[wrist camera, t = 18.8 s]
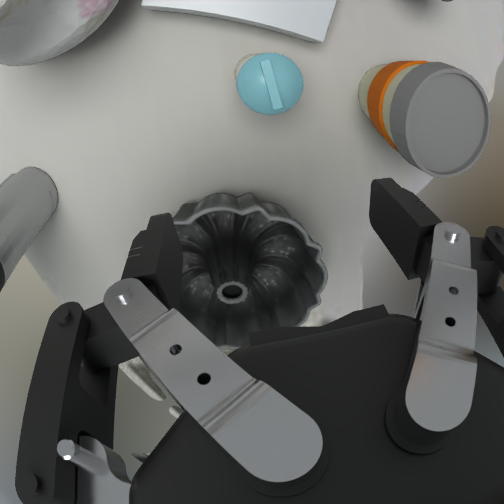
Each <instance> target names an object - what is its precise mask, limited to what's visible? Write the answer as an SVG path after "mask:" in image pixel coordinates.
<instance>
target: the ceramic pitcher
mask: <svg viewBox="0 0 504 504" xmlns="http://www.w3.org/2000/svg"><path fill="white" fill-rule="evenodd" d="M118 1H119V0H0V64H4V65H8V66H24V65H32V64H36V63H39V62H42V61H45V60H48V59H51V58H53V57H55V56H58V55H60V54H62V53H64V52H66V51H68V50H70V49H72V48H73V47H75V46H77V45H78V44H79V43H81V42H82V41H83V40H84V39H86V38H87V37H88V36H89V35H91V34H92V33H93V32H94V31H96V30H97V29H98V28H99V27H100V26H101V24H102V23H103V22H104V21H105V20H106V18H107V17H108V16H109V15H110V13H111V12H112V11H113V9H114V8H115V6H116V5H117V3H118Z"/></svg>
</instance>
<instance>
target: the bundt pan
mask: <svg viewBox="0 0 504 504" xmlns="http://www.w3.org/2000/svg"><path fill="white" fill-rule="evenodd" d="M173 221H174V225H175V228H176V231H177V234H178V237H179V240H180V243H181V246H182V251H183V269H182V281H181V293H180V306H179V313H180V314H182V315H183V316H184V317H185V318H186V319H187V320H188V321H189V322H190V323H191V324H192V325H193V326H194V327H195V328H197V329H198V330H199V331H200V332H201V333H202V334H203V335H204V336H205V337H206V338H208V339H209V340H210V341H211V342H212V343H213V344H214V345H215V346H216V347H218V348H219V349H222V348H231V349H238V348H240V347H242V346H244V345H246V344H249V343H250V341H249V333H250V332H255V331H261V330H267V329H272V328H278V327H283V326H286V327H300V326H301V325H302V324H303V323H304V322H305V321H306V320H307V318H308V317H309V314H310V311H311V310H312V309H314V308H315V307H317V306H318V305H320V304H321V298H320V293H321V292H322V291H323V289H324V287H325V285H326V283H327V278H328V273H327V269H326V267H325V265H324V263H323V262H322V260H321V254H322V247H321V245H320V244H318V243H316V242H314V241H313V240H312V239H311V238H310V236H309V235H308V234H307V232H306V231H305V229H304V227H303V226H302V225H301V224H300V223H299V222H297V221H296V220H294V219H292V218H291V216H290V215H289V214H288V213H287V212H286V210H284V209H283V208H282V207H281V206H279V205H277V204H275V203H271V202H260V201H259V200H258V199H257V198H256V197H255V196H254V195H253V194H252V193H246V194H244V195H242V196H240V197H237V198H235V197H234V196H232V195H229V194H225V193H216V194H212V195H209V196H207V197H205V198H204V199H203V200H201V201H200V202H199V203H198V204H188V203H186V204H183V205H182V206H181V207H180V209H179V211H178V213H177V215H176V217H174V218H173Z"/></svg>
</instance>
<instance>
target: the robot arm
mask: <svg viewBox="0 0 504 504" xmlns="http://www.w3.org/2000/svg"><path fill="white" fill-rule="evenodd" d="M57 203H58V195H57V190H56V187H55V185H54V183H53V181H52V180H51V178H50V177H49V176H48V175H47V174H46V173H45V172H43V171H42V170H40V169H37V168H33V167H28V168H24V169H22V170H21V171H19V172H18V173H17V174H12V175H10V176H9V177H8V178H7V179H6V180H5V181H4V182H3V183H1V184H0V291H1V290H2V288H3V286H4V285H5V283H6V281H7V280H8V278H9V276H10V275H11V273H12V271H13V269H14V268H15V266H16V265H17V263H18V261H19V260H20V259H21V257H22V256H23V254H24V253H25V251H26V250H27V248H28V247H29V245H30V244H31V242H32V241H33V240H34V238H35V237H36V235H37V234H38V232H39V231H40V230H41V228H42V227H43V226H44V224H45V223H46V222H47V220H48V219H49V218H50V216H51V215H52V214H53V212H54V211H55V209H56V207H57ZM369 218H370V223H371V225H372V227H373V229H374V230H375V232H376V233H377V234H378V235H379V237H380V239H381V240H382V241H383V243H384V244H385V246H386V247H387V249H388V250H389V252H390V253H391V255H392V256H393V257H394V259H395V260H396V262H397V263H398V264H399V266H400V268H401V269H402V271H403V272H404V274H405V276H406V277H407V279H408V280H410V279H414V278H418V277H420V279H421V282H420V285H419V290H418V295H417V299H416V304H415V308H414V313H413V317H409V316H405V315H399V314H388V312H387V310H386V308H385V306H384V305H379V306H375V307H371V308H367V309H363V310H359V311H354V312H352V313H350V314H348V315H346V316H343V317H341V318H339V319H337V320H335V321H333V322H331V323H329V324H326V325H324V326H320V327H286V326H283V327H278V328H272V329H267V330H261V331H255V332H250V333H249V341H250V343H249V344H246V345H244V346H242V347H240V348H238V349H236V350H235V351H233V352H232V353H230V354H229V355H228V356H227V355H226V354H224V353H223V352H222V351H221V350H220V349H219V348H218V347H216V346H215V345H214V344H213V343H212V342H211V341H210V340H209V339H208V338H206V337H205V336H204V335H203V334H202V333H201V332H200V331H199V330H198V329H197V328H195V327H194V326H193V325H192V324H191V323H190V322H189V321H188V320H187V319H186V318H185V317H184V316H183V315H182V314H180V313H179V306H180V293H181V281H182V269H183V251H182V246H181V243H180V240H179V237H178V234H177V231H176V228H175V225H174V221H173V218H172V216H171V214H170V213H165V214H160V215H155V216H151V217H150V220H149V224H148V227H147V230H144V231H140V233H139V234H138V235H137V236H136V237H135V238H134V240H133V242H132V245H131V248H130V249H131V250H130V251H129V255H128V258H127V261H126V264H125V268H124V271H123V274H122V278H121V280H120V281H118V282H116V283H115V284H113V285H112V286H111V287H110V288H109V289H108V290H107V291H106V293H105V295H104V300H103V301H104V302H103V303H101V304H98V305H96V306H94V307H91V308H89V309H87V310H83V308H82V307H81V305H80V304H79V303H77V302H67V303H65V304H63V305H61V306H59V307H58V308H57V309H56V310H55V311H54V312H53V313H52V315H51V316H50V318H49V321H48V324H47V327H46V330H45V333H44V336H43V340H42V343H41V346H40V350H39V353H38V357H37V360H36V364H35V368H34V372H33V376H32V380H31V384H30V388H29V393H28V397H27V402H26V407H25V412H24V417H23V423H22V429H21V435H20V441H19V449H18V457H17V466H16V477H15V486H16V491H17V494H18V497H19V498H20V500H21V501H22V503H23V504H504V368H503V367H502V366H500V365H498V364H497V363H495V362H493V361H491V360H490V359H488V358H486V357H484V356H483V355H481V354H479V353H477V352H475V351H474V347H475V335H476V318H477V310H478V312H479V314H480V315H481V317H482V319H483V320H484V322H485V324H486V326H487V327H488V329H489V331H490V333H491V334H492V336H493V338H494V340H495V342H496V344H497V345H498V347H499V349H500V351H501V353H502V355H503V357H504V291H503V290H502V289H501V287H500V286H499V285H500V283H501V281H502V279H503V277H504V228H502V227H498V226H490V227H488V228H487V230H486V233H485V236H484V238H479V237H470V236H469V234H468V232H467V231H466V230H465V229H464V228H462V227H461V226H459V225H457V224H454V223H449V222H442V221H441V220H440V219H439V218H438V217H437V216H436V215H435V214H434V213H433V212H432V211H431V210H430V209H429V208H428V207H426V205H425V204H424V203H423V202H422V201H420V199H419V198H418V197H417V196H416V195H415V194H414V193H412V192H410V191H408V190H406V189H404V188H401V187H400V186H399V185H398V184H397V183H396V182H395V181H394V180H393V179H392V178H383V179H374V180H373V181H372V183H371V195H370V209H369ZM138 356H139V357H140V359H141V360H142V361H143V363H144V364H145V365H146V366H147V368H148V369H149V370H150V372H151V373H152V374H153V375H154V376H155V378H156V379H157V380H158V381H159V383H160V384H161V385H162V386H163V388H164V389H165V390H166V391H167V392H168V394H169V395H170V396H171V397H172V398H173V400H174V401H175V402H176V403H177V405H178V406H179V407H180V408H181V409H182V410H183V412H182V413H181V415H180V416H179V417H178V419H177V420H176V422H175V423H174V424H173V425H172V427H171V428H170V429H169V431H168V432H167V433H166V434H165V436H164V437H163V438H162V440H161V441H160V442H159V444H158V445H157V446H156V447H155V449H154V450H153V451H152V453H151V454H150V455H149V456H148V458H147V459H146V460H145V461H144V463H143V464H142V465H141V467H140V468H139V469H138V471H137V472H136V474H135V475H134V477H133V480H132V482H131V481H130V479H129V477H128V475H127V472H126V466H125V463H124V461H123V459H122V457H121V456H120V455H119V454H118V453H117V452H115V451H113V433H114V413H115V398H116V384H117V373H118V364H120V363H123V362H125V361H128V360H130V359H133V358H135V357H138Z"/></svg>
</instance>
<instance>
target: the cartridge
mask: <svg viewBox="0 0 504 504" xmlns="http://www.w3.org/2000/svg"><path fill="white" fill-rule="evenodd" d="M235 77H236V80H237V89H238V93H239V95H240V97H241V99H242V101H243V102H244V103H245V104H246V105H247V106H248V107H249V108H250V109H252V110H254V111H256V112H258V113H261V114H267V115H273V114H279V113H282V112H285V111H287V110H288V109H290V108H291V107H293V106H294V105H295V104H296V102H297V101H298V100H299V98H300V96H301V94H302V90H303V77H302V74H301V72H300V70H299V68H298V66H297V65H296V64H295V63H294V62H293V61H292V60H290V59H289V58H287V57H285V56H283V55H280V54H276V53H262V54H250V55H247V56H245V57H243V58H242V59H241V60H240V61H239V62H238V64H237V66H236V69H235Z"/></svg>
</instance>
